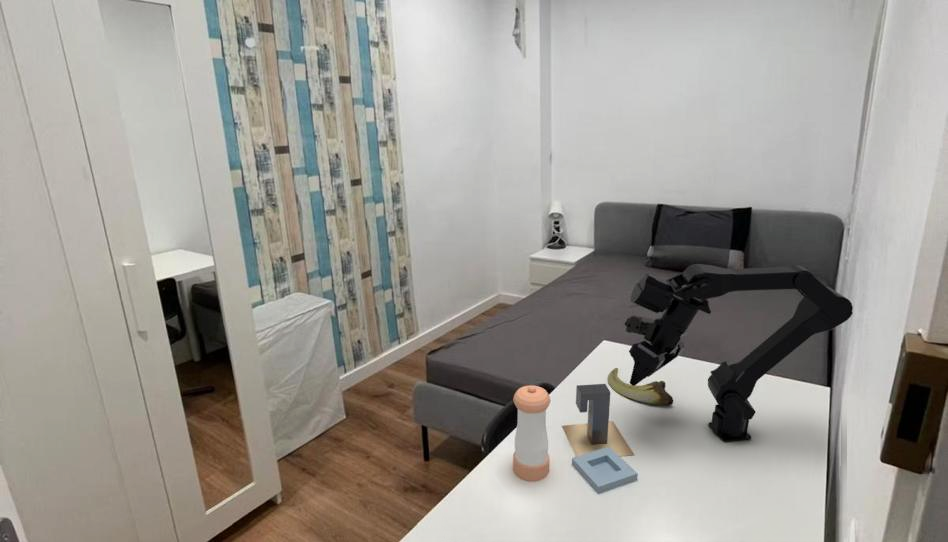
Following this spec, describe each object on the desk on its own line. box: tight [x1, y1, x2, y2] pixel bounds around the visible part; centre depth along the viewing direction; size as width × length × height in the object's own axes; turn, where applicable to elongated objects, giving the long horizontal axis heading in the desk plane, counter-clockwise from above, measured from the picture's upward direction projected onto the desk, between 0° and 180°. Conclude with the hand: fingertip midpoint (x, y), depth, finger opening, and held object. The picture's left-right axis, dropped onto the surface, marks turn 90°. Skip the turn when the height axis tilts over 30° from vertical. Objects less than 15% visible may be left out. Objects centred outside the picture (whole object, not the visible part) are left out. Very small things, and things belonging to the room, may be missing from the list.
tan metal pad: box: [561, 420, 635, 458], centre depth 111 cm, size 12×12×1 cm
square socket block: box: [571, 447, 638, 495], centre depth 101 cm, size 9×9×2 cm
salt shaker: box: [512, 385, 551, 482], centre depth 100 cm, size 7×7×19 cm
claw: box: [607, 367, 674, 406], centre depth 130 cm, size 20×10×3 cm, turn 41°
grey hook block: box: [575, 383, 611, 445], centre depth 109 cm, size 6×3×13 cm, turn 94°
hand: (639, 379), depth 112 cm, fingers open, 9 cm apart
